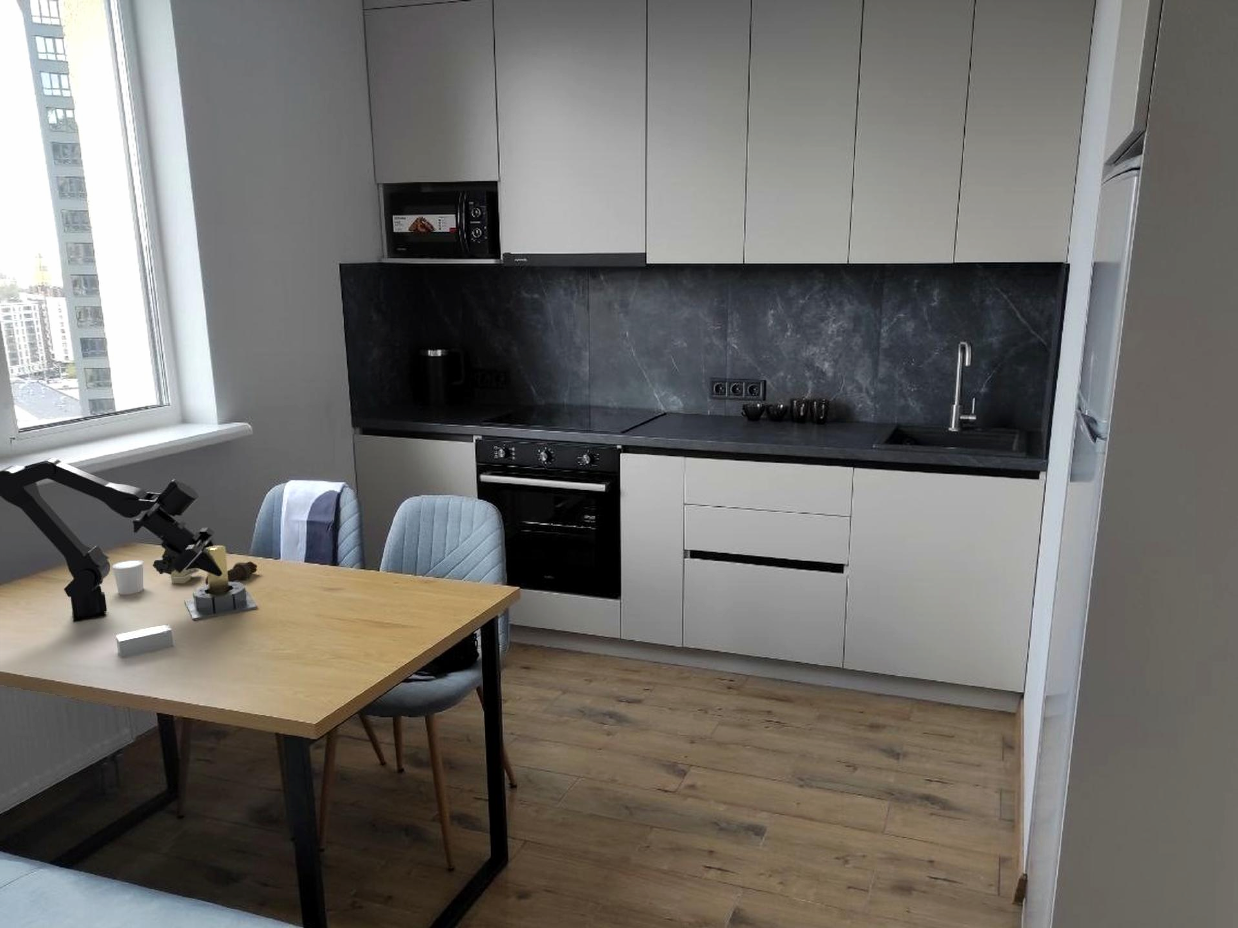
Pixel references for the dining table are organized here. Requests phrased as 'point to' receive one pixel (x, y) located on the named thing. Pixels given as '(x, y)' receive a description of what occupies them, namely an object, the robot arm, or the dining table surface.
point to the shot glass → (129, 576)
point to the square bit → (144, 641)
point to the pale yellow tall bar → (220, 582)
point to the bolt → (240, 571)
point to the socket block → (219, 602)
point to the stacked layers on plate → (183, 575)
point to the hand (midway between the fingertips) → (223, 571)
